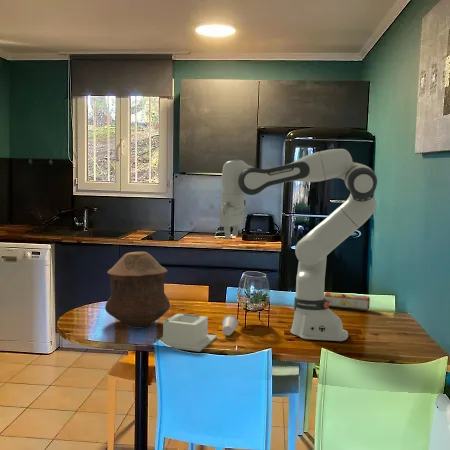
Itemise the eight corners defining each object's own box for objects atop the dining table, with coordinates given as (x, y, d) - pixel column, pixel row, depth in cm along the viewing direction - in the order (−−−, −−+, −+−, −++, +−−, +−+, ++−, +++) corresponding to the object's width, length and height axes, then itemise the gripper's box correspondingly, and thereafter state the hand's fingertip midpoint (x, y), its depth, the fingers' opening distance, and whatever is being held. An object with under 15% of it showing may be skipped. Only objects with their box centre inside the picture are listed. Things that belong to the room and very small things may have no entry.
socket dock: (216, 337, 197) (217, 314, 196) (199, 351, 180) (200, 326, 179) (173, 332, 202) (173, 310, 202) (152, 345, 185) (152, 321, 185)
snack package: (368, 311, 245) (369, 307, 251) (369, 298, 243) (370, 294, 250) (323, 307, 251) (325, 303, 258) (323, 294, 250) (325, 290, 257)
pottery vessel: (178, 332, 203) (180, 255, 201) (112, 338, 192) (113, 257, 190) (159, 316, 226) (160, 247, 224) (99, 321, 216) (99, 249, 214)
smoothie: (216, 325, 197) (221, 314, 211) (223, 341, 198) (227, 329, 211) (232, 320, 196) (236, 309, 210) (238, 335, 197) (241, 324, 210)
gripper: (232, 202, 193) (231, 239, 194) (247, 201, 212) (246, 235, 214) (215, 201, 195) (215, 238, 196) (232, 200, 214) (231, 234, 215)
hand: (231, 236), depth 205 cm, fingers open, 8 cm apart
